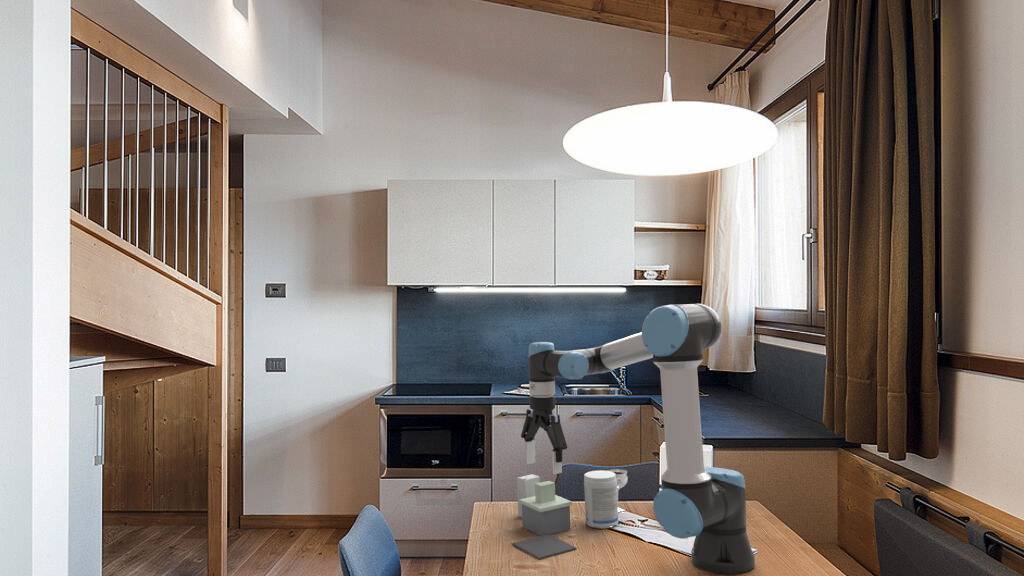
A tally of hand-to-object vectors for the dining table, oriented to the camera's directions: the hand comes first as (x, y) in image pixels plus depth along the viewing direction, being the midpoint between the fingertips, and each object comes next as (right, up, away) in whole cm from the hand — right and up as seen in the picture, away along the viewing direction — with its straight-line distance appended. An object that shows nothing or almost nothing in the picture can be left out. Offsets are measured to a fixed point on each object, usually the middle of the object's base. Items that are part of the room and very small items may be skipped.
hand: (543, 468), depth 201 cm
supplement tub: (+17, -17, +2) cm, 24 cm away
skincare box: (-4, -18, +11) cm, 21 cm away
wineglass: (+24, -17, +14) cm, 32 cm away
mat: (-1, -17, -15) cm, 23 cm away
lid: (+1, -11, 0) cm, 11 cm away
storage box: (+1, -17, 0) cm, 17 cm away
